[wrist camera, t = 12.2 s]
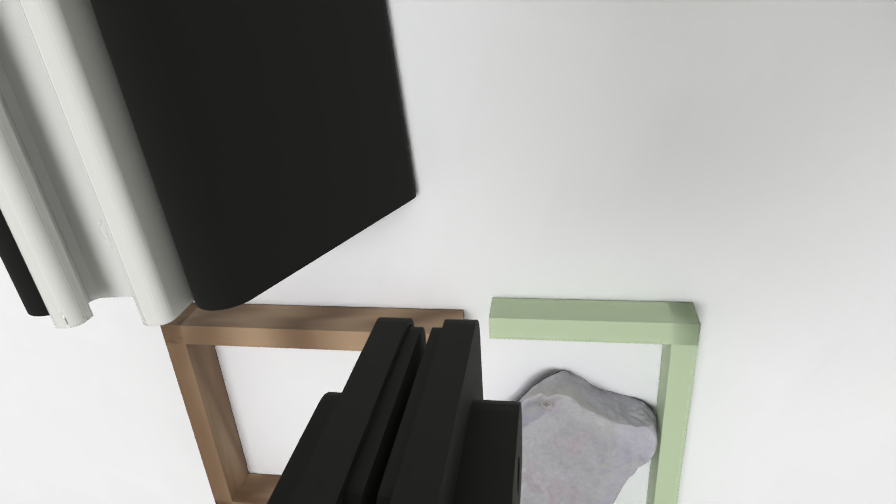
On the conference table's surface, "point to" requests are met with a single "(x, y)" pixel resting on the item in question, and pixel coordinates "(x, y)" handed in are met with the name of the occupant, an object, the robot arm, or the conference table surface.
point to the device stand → (190, 147)
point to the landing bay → (623, 325)
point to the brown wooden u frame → (258, 327)
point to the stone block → (581, 441)
